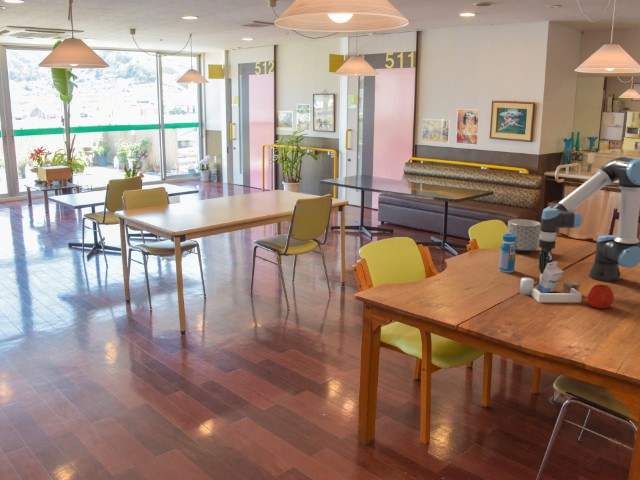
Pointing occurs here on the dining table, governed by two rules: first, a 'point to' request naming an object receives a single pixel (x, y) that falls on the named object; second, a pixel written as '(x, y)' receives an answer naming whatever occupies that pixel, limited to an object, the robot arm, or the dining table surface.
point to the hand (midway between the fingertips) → (542, 285)
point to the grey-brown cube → (569, 285)
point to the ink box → (550, 278)
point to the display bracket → (557, 296)
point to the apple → (600, 296)
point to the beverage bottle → (507, 253)
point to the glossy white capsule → (526, 286)
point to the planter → (525, 234)
